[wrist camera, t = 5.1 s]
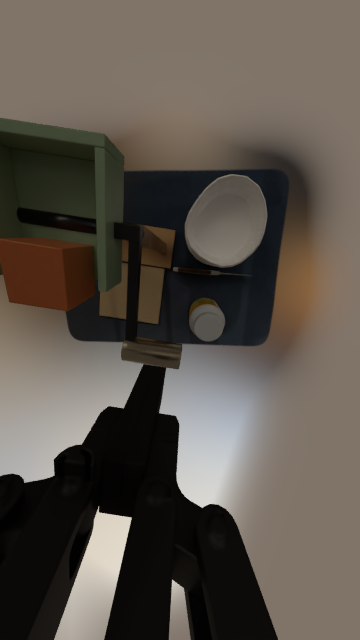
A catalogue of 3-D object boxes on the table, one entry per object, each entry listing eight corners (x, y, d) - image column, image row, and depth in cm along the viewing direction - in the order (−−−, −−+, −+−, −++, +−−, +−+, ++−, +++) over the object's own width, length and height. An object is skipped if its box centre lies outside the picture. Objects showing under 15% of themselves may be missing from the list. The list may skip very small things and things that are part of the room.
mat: (102, 259, 34) (101, 258, 34) (164, 268, 34) (164, 268, 34) (100, 314, 37) (99, 315, 37) (158, 323, 37) (157, 324, 37)
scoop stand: (170, 268, 34) (152, 274, 17) (96, 256, 34) (4, 251, 17) (175, 231, 32) (160, 196, 15) (97, 218, 32) (-5, 170, 15)
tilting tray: (181, 346, 21) (177, 380, 16) (36, 323, 21) (-11, 350, 16) (209, 178, 15) (216, 150, 10) (7, 147, 15) (-84, 104, 10)
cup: (183, 263, 34) (181, 264, 24) (189, 197, 31) (189, 169, 21) (239, 268, 33) (258, 270, 24) (250, 202, 31) (277, 176, 21)
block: (93, 245, 15) (95, 295, 17) (42, 237, 15) (49, 287, 17) (61, 248, 11) (68, 311, 13) (-6, 238, 12) (8, 302, 13)
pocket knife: (173, 271, 34) (172, 272, 32) (173, 266, 34) (172, 266, 32) (252, 278, 34) (255, 279, 32) (253, 273, 34) (256, 273, 32)
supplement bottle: (224, 311, 36) (237, 328, 26) (203, 331, 37) (208, 353, 28) (204, 290, 35) (209, 300, 26) (183, 311, 36) (180, 328, 27)
